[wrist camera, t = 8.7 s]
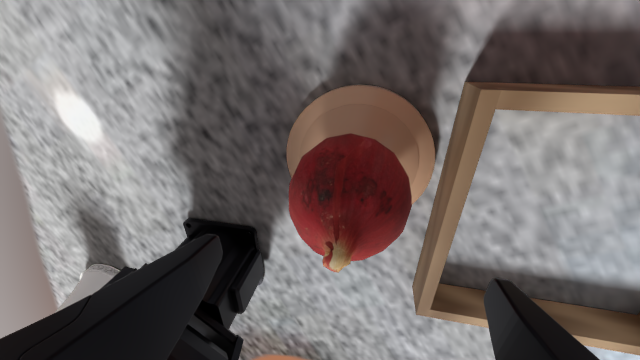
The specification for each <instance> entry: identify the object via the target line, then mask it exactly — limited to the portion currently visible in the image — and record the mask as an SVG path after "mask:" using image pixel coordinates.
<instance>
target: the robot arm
mask: <svg viewBox="0 0 640 360" xmlns="http://www.w3.org/2000/svg"><path fill="white" fill-rule="evenodd" d="M183 225H184V228H185V231H186V234H187V238H186V239H185V240H184V241H183V242H182V243H181V244H180V245H179V246H178V248H177V249H176V250H175V251H173V252H171V253H169V254H167V255H165V256H163V257H161V258H159V259H157V260H156V261H154V262H152V263H150V264H147V263H145V264H144V265H143V266H142V267H141V268H140V269H138V270H137V269H136V268H135V269H133V268H129V267H124V268H123V269H122V270H121V271H120V272H119V273H118V274H116V275H115V276H114V277H113V278H112V279H111V280H110V281H109V282H107V283H106V284H105V285H104V286H103V287H102V288H101V289H99V290H98V291H96V292H94V293H93V295H89V296H87V297H85V298H83V299H81V300H79V301H77V302H75V303H73V304H71V305H69V306H67V307H66V308H64V309H62V310H60V311H58V312H56V313H54V314H52V315H50V316H48V317H45V318H43V319H41V320H39V321H37V322H35V323H33V324H31V325H29V326H27V327H25V328H23V329H20V330H18V331H16V332H14V333H12V334H9V335H7V336H5V337H3V338H1V339H0V360H238V359H239V356H240V352H241V348H242V344H243V339H242V338H241V337H240V336H239V335H235V334H234V333H232V332H231V331H230V330H229V328H230V326H231V324H232V322H233V320H234V318H235V316H236V314H237V313H238V314H242V313H243V312H244V311H245V309H246V307H247V305H248V303H249V301H250V299H251V297H252V295H253V293H254V291H255V289H256V287H257V285H260V284H261V283H262V281H263V273H264V269H263V263H262V256H261V252H260V250H259V246H258V239H257V232H256V230H255V229H254V228H253V227H249V226H242V225H235V224H228V223H221V222H214V221H207V220H199V219H192V218H188V219H187V220H186V221H184V223H183ZM249 232H250V233H251V234H250V233H249ZM484 307H485V312H486V317H487V321H488V326H489V331H490V336H491V341H492V346H493V350H494V355H495V359H496V360H599V359H598V358H597V357H596V356H595V355H594V354H593V353H591V352H590V351H589V350H588V349H587V348H586V347H585V346H584V345H582V344H581V343H580V342H579V341H578V340H577V339H576V338H575V337H573V336H572V335H571V334H570V333H569V332H568V331H567V330H566V329H564V328H563V327H562V326H561V325H560V324H559V323H558V322H557V321H555V320H554V319H553V318H552V317H551V316H550V315H549V314H547V313H546V312H545V311H544V310H543V309H542V308H541V307H540V306H538V305H537V304H536V303H535V302H534V301H533V300H532V299H531V298H529V297H528V296H527V295H526V294H525V293H524V292H523V291H522V290H520V289H519V288H518V287H517V286H516V285H515V284H514V283H513V282H511V281H510V280H507V279H501V278H493V279H492V280H491V282H490V284H489V286H488V288H487V290H486V292H485V294H484Z"/></svg>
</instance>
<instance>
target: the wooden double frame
mask: <svg viewBox="0 0 640 360" xmlns="http://www.w3.org/2000/svg"><path fill="white" fill-rule="evenodd" d="M495 109H503V110H525V111H548V112H570V113H592V114H614V115H636V116H640V87H637V86H601V85H566V84H531V83H496V82H465V83H464V87H463V91H462V95H461V99H460V102H459V106H458V110H457V114H456V118H455V122H454V126H453V130H452V134H451V138H450V141H449V145H448V149H447V153H446V157H445V161H444V165H443V169H442V173H441V177H440V180H439V184H438V188H437V192H436V196H435V200H434V204H433V208H432V212H431V216H430V220H429V223H428V227H427V231H426V235H425V239H424V243H423V247H422V251H421V255H420V259H419V262H418V266H417V270H416V274H415V278H414V282H413V286H412V287H413V295H414V302H415V310H416V315H421V316H426V317H432V318H437V319H443V320H448V321H454V322H459V323H465V324H470V325H476V326H481V327H487V328H489V326H488V321H487V317H486V312H485V307H484V294H485V292H486V291H484V290H478V289H471V288H465V287H459V286H452V285H446V284H440V283H439V281H440V278H441V275H442V271H443V268H444V265H445V262H446V259H447V256H448V253H449V250H450V247H451V244H452V241H453V238H454V235H455V232H456V228H457V225H458V222H459V219H460V216H461V213H462V210H463V207H464V204H465V201H466V198H467V195H468V192H469V189H470V185H471V182H472V179H473V176H474V173H475V170H476V167H477V164H478V161H479V158H480V155H481V152H482V149H483V146H484V142H485V139H486V136H487V133H488V130H489V127H490V124H491V121H492V118H493V115H494V112H495ZM531 299H532V300H533V301H534V302H535V303H536V304H537V305H538V306H540V307H541V308H542V309H543V310H544V311H545V312H546V313H547V314H549V315H550V316H551V317H552V318H553V319H554V320H555V321H557V322H558V323H559V324H560V325H561V326H562V327H563V328H564V329H566V330H567V331H568V332H569V333H570V334H571V335H572V336H573V337H575V338H576V339H577V340H578V341H579V342H580V343H581V344H582V345H585V346H591V347H596V348H602V349H607V350H613V351H618V352H624V353H629V354H635V355H640V313H639V314H638V315H635V314H628V313H622V312H616V311H609V310H603V309H597V308H591V307H584V306H578V305H572V304H565V303H559V302H553V301H547V300H540V299H534V298H531Z"/></svg>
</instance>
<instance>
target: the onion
mask: <svg viewBox="0 0 640 360" xmlns="http://www.w3.org/2000/svg"><path fill="white" fill-rule="evenodd" d="M411 207H412V195H411V188H410V182H409V177H408V175H407V173H406V171H405V170H404V168H403V166H402V165H401V163H400V161H399V160H398V158H397V157H396V155H395V153H394V152H392V151H391V150H390V149H388V148H387V147H385V146H384V145H383V144H381V143H380V142H378V141H377V140H376V139H372V138H368V137H364V136H360V135H356V134H352V133H349V134H344V135H339V136H334V137H329V138H326V139H324V140H323V141H322V142H320V143H319V144H318V145H316V146H315V147H314V148H313V149H311V150H310V151H309V152H307V153H306V154H305V155H303V156H302V158H301V160H300V162H299V164H298V166H297V168H296V170H295V173H294V175H293V177H292V179H291V181H290V186H289V212H290V216H291V219H292V221H293V223H294V225H295V227H296V229H297V232H298V234H299V235H300V237H301V238H302V239H303V240H304V241H305V242H306V243H307V244H308V245H309V246H310V247H311V248H312V249H313V251H315V252H316V253H318V254H320V255H322V256H324V257H323V266H324V267H326V268H328V269H329V270H331V271H333V272H339V271H340V270H341V269H342V268H343V267H345V266H347V265H349V264H350V262H351V261H357V260H363V259H366V258H368V257H370V256H373V255H375V254H377V253H379V252H382V251H383V250H384V249H386V248H387V247H388V246H389V245H390V244H391V243H392V242H393V241H394V240H396V239H397V238H398V237H399V236H400V234H401V233H402V232H403V230H404V227H405V225H406V222H407V219H408V216H409V213H410V210H411Z"/></svg>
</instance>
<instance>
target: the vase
mask: <svg viewBox="0 0 640 360" xmlns="http://www.w3.org/2000/svg"><path fill="white" fill-rule="evenodd" d="M119 272H120V270H118V269H116V268H114V267H112V266H109V265H104V264H94V265H91V266H90V267H89V268H88V269H87V270H85V271H84V272H82V273H81V275H80V281H79V283H78V284H77V286H76V287H75V289H74V290H73V291H72V293H71V294H70V295H69V297H68V298H67V299H66V300H65V302H64V303H63V304H62V305H61V306H60V307H59V308H58V310H57V311H56V312H58V311H60V310H62V309H64V308H66V307H67V306H69V305H71V304H73V303H75V302H77V301H79V300H81V299H83V298H85V297H87V296H89V295H93V293H94V292H96V291H98V290H99V289H101V288H102V287H103V286H104V285H105V284H106V283H107V282H109V281H110V280H111V279H112V278H113V277H114V276H115V275H116V274H118V273H119ZM56 312H55V313H56Z"/></svg>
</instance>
